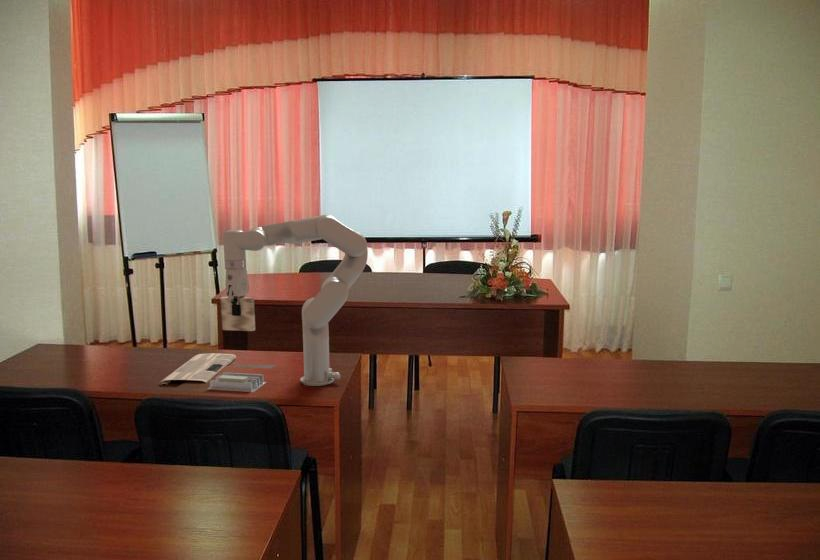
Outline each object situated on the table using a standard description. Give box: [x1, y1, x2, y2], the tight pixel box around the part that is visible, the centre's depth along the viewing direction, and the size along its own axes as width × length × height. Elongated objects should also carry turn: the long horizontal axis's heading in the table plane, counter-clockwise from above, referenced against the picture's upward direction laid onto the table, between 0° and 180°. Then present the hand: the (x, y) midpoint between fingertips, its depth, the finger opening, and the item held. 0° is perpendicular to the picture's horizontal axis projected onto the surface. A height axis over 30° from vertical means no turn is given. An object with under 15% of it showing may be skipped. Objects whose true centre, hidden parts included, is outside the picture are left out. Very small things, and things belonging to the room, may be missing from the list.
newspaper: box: [159, 352, 237, 386], centre depth 297 cm, size 37×19×3 cm, turn 176°
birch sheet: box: [220, 296, 256, 332], centre depth 273 cm, size 12×2×12 cm, turn 78°
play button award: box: [233, 363, 275, 370], centre depth 292 cm, size 16×2×20 cm
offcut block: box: [219, 374, 248, 382], centre depth 271 cm, size 10×3×4 cm, turn 78°
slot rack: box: [207, 372, 268, 393], centre depth 274 cm, size 18×12×4 cm, turn 78°
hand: (238, 314), depth 273 cm, fingers closed on birch sheet, 2 cm apart
